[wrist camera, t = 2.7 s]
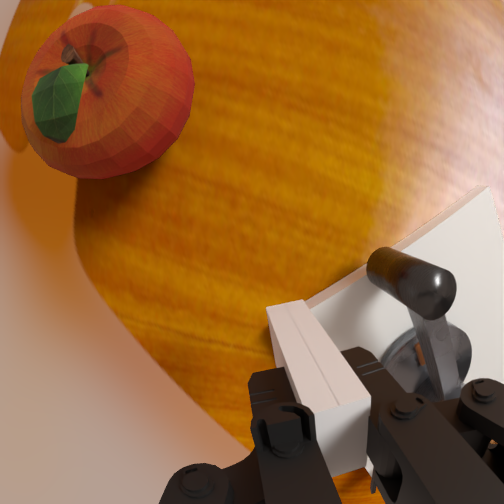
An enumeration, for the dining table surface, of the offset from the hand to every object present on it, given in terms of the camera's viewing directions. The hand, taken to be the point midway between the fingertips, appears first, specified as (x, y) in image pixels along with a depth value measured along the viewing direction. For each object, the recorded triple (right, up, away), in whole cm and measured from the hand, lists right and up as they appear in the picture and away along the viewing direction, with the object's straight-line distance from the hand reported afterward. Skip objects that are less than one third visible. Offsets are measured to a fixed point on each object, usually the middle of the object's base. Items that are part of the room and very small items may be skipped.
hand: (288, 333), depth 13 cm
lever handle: (+11, -5, +8) cm, 15 cm away
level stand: (+14, -5, +11) cm, 19 cm away
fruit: (-9, +13, +6) cm, 17 cm away
